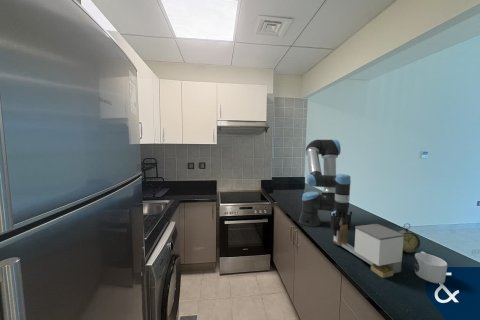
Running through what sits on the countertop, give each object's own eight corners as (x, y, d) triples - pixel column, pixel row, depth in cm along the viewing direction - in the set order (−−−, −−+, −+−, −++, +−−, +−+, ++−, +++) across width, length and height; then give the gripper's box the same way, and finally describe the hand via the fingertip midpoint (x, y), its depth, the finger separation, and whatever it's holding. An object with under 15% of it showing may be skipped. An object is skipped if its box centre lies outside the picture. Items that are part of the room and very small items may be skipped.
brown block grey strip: (333, 241, 117) (334, 222, 117) (340, 240, 119) (341, 221, 118) (371, 266, 93) (372, 241, 93) (379, 265, 95) (380, 240, 94)
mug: (451, 287, 82) (453, 268, 82) (419, 280, 86) (421, 262, 86) (434, 268, 95) (435, 252, 94) (407, 263, 99) (408, 248, 98)
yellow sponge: (370, 270, 93) (370, 265, 93) (380, 268, 95) (380, 263, 95) (382, 278, 88) (383, 273, 87) (393, 276, 89) (393, 271, 89)
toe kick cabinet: (353, 260, 101) (355, 226, 100) (375, 256, 105) (377, 223, 104) (377, 277, 88) (380, 238, 87) (401, 271, 92) (404, 234, 91)
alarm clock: (397, 253, 108) (399, 224, 107) (391, 248, 113) (393, 221, 112) (419, 255, 107) (422, 226, 105) (412, 250, 112) (414, 222, 111)
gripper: (333, 204, 108) (331, 245, 109) (359, 202, 113) (357, 241, 114) (324, 200, 115) (322, 239, 117) (349, 198, 120) (347, 236, 121)
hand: (339, 240), depth 115 cm, fingers closed on brown block grey strip, 5 cm apart
